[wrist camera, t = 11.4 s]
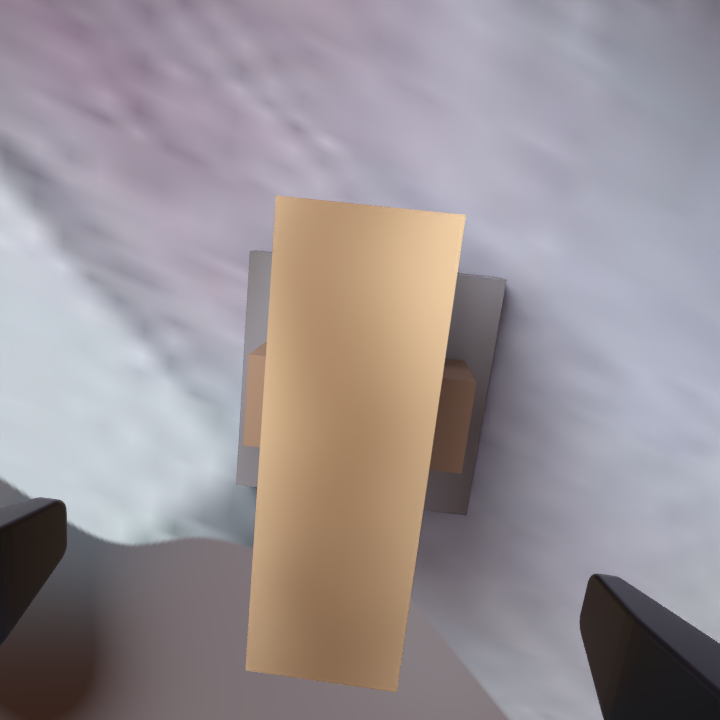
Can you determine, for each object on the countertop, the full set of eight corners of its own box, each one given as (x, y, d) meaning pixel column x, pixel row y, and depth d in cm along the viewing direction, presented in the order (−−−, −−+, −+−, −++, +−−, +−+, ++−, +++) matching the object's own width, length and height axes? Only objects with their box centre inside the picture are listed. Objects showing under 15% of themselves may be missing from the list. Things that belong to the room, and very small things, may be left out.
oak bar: (447, 223, 15) (466, 214, 11) (397, 591, 17) (396, 692, 13) (308, 209, 15) (276, 195, 11) (279, 575, 17) (245, 670, 14)
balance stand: (500, 278, 19) (527, 286, 15) (463, 502, 21) (478, 562, 17) (257, 250, 19) (221, 251, 15) (243, 473, 21) (208, 524, 17)
